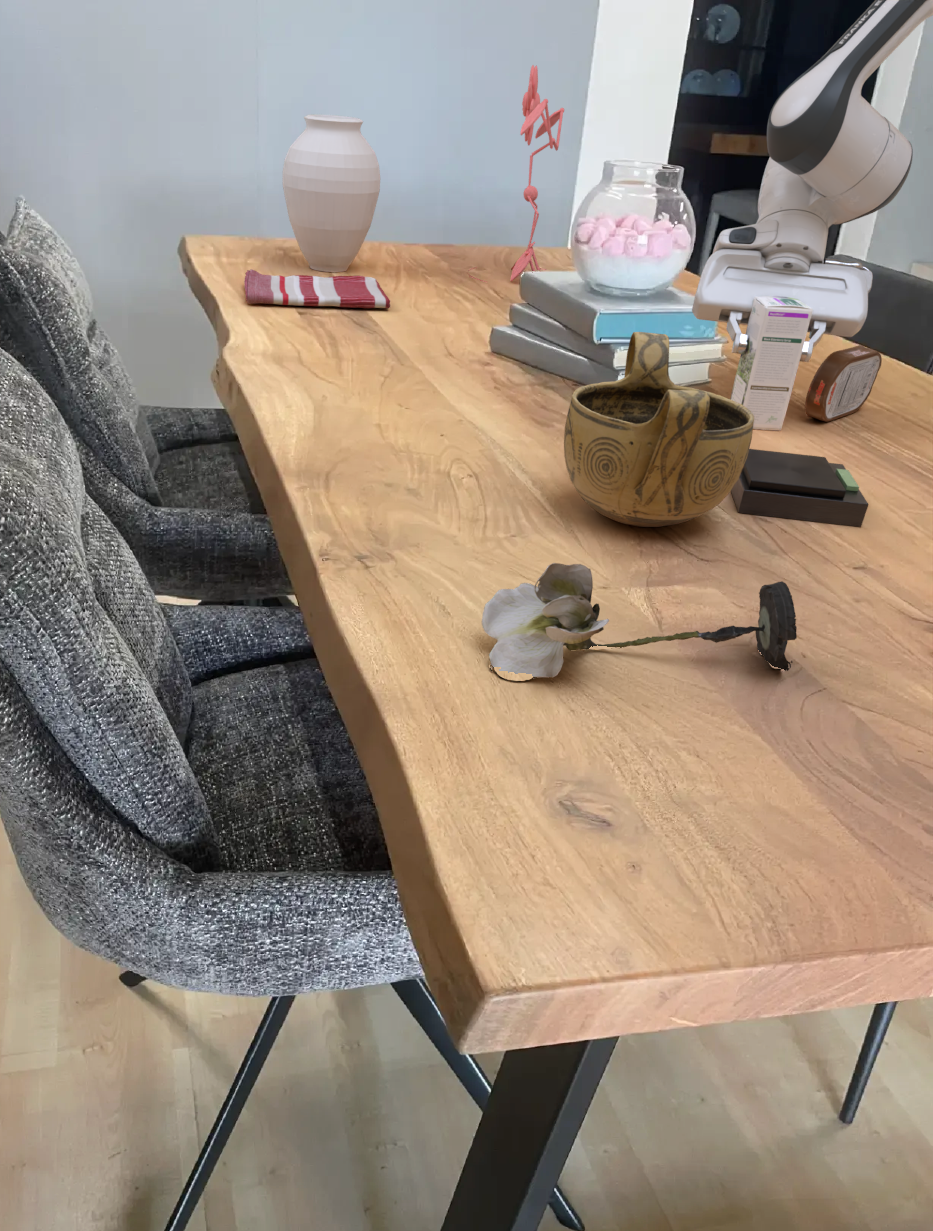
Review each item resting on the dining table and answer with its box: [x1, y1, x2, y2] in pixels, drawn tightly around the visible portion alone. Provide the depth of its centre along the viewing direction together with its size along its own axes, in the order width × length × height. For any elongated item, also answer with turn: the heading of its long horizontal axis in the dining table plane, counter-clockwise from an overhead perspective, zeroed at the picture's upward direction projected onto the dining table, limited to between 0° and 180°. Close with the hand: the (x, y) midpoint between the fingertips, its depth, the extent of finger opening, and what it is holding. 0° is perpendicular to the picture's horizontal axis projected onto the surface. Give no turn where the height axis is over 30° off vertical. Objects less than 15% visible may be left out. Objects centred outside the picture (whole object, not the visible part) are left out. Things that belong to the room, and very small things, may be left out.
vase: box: [282, 113, 381, 273], centre depth 193 cm, size 18×18×25 cm
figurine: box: [467, 64, 565, 283], centre depth 195 cm, size 15×26×35 cm, turn 170°
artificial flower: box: [481, 562, 798, 678], centre depth 76 cm, size 9×22×10 cm, turn 90°
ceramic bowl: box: [563, 331, 754, 528], centre depth 99 cm, size 22×17×15 cm
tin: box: [804, 344, 883, 422], centre depth 135 cm, size 15×3×8 cm, turn 134°
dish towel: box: [243, 268, 391, 309], centre depth 176 cm, size 17×23×3 cm
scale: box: [730, 448, 869, 528], centre depth 109 cm, size 12×12×3 cm
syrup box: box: [729, 296, 813, 432], centre depth 128 cm, size 6×6×14 cm
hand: (770, 354), depth 127 cm, fingers closed on syrup box, 6 cm apart
